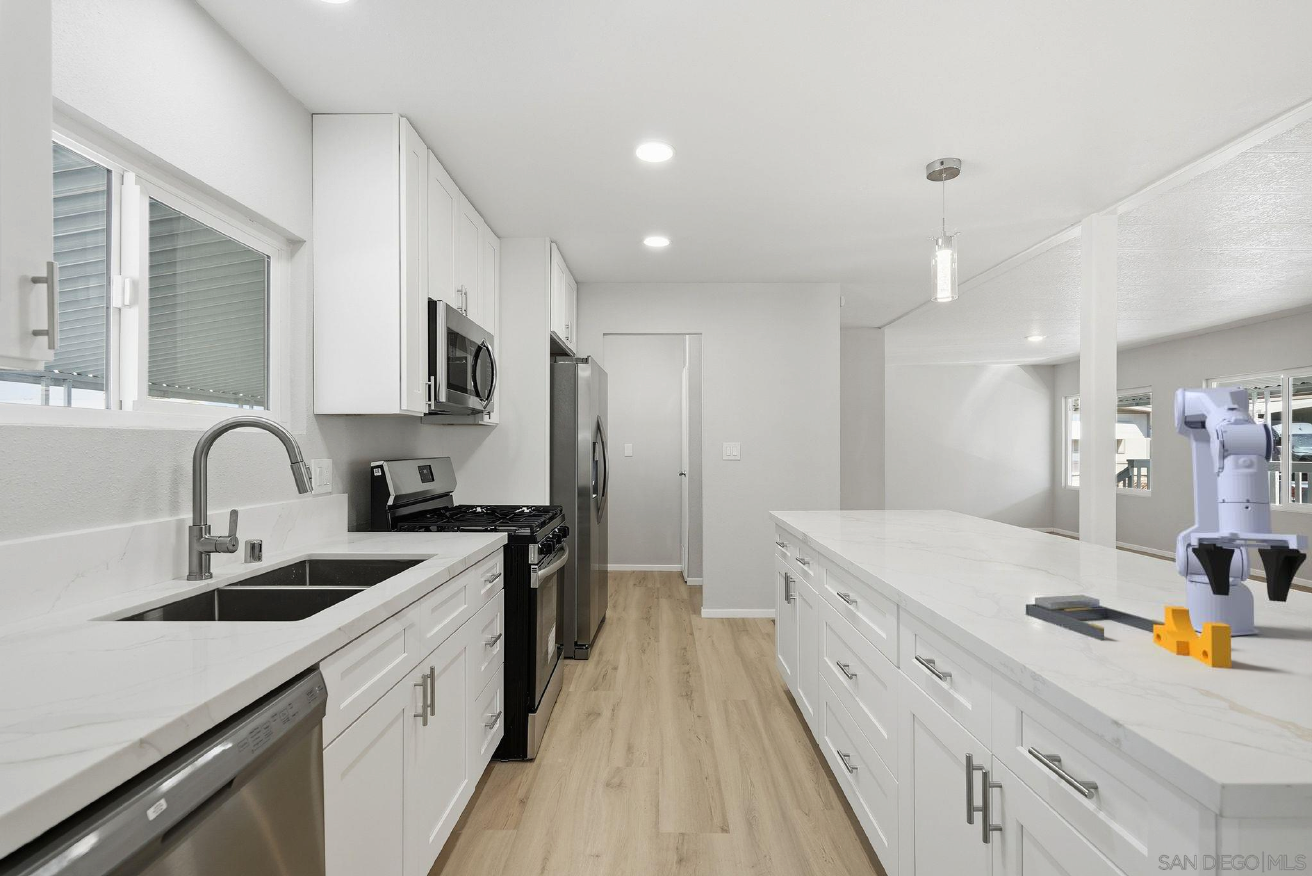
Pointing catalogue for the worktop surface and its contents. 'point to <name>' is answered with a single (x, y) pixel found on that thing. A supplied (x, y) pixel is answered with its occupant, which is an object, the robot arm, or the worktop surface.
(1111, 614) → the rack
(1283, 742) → the worktop surface
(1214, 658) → the notched yellow bracket
